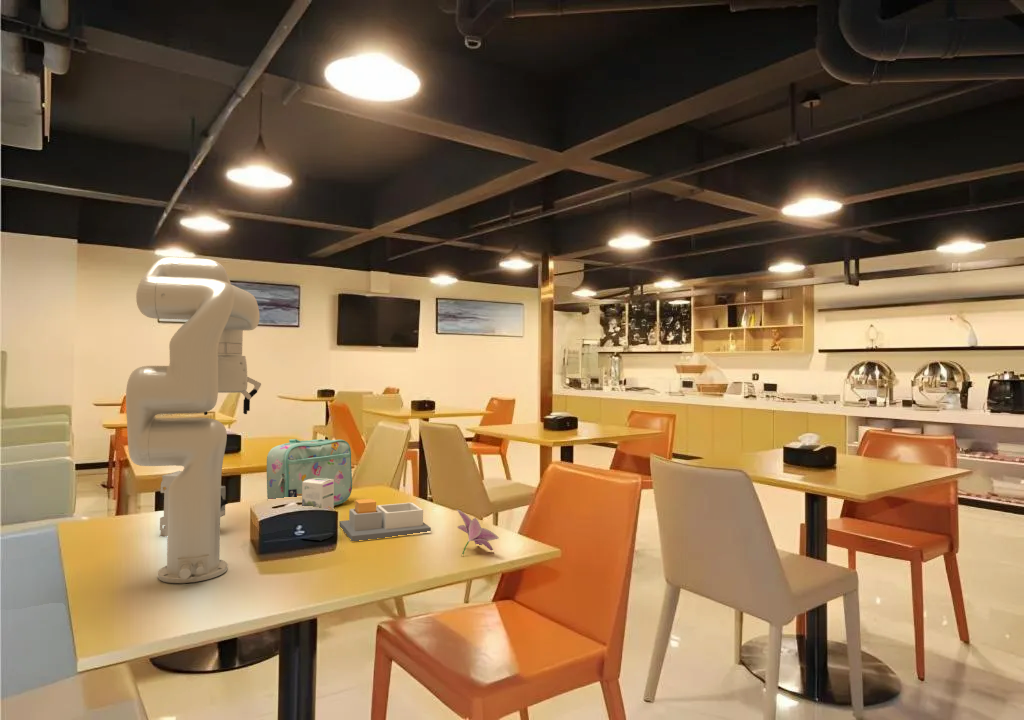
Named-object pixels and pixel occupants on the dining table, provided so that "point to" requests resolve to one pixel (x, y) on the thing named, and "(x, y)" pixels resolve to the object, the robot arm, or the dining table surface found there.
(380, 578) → the dining table surface
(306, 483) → the syrup box
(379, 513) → the grey compartment tray
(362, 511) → the button
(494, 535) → the lily
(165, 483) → the circuit breaker
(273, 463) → the lunch box
